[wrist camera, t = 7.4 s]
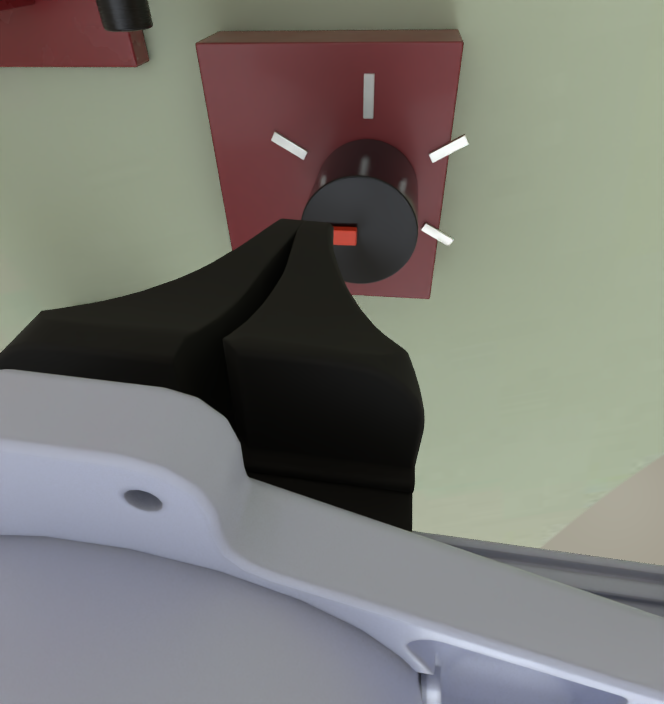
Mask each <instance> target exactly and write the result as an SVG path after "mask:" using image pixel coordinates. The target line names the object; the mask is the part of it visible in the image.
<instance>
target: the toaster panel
mask: <svg viewBox="0 0 664 704" xmlns="http://www.w3.org/2000/svg"><path fill="white" fill-rule="evenodd" d="M463 45H464V43H463V40H462V38H461V35H460V33H459V30H457V29H439V30H316V31H219V32H217V33H215V34H213V35H211V36H209V37H207V38H205V39H203V40H201V41H199V42H197V43H196V50H197V56H198V62H199V67H200V73H201V78H202V84H203V90H204V95H205V101H206V106H207V112H208V117H209V123H210V129H211V134H212V140H213V145H214V151H215V157H216V162H217V168H218V173H219V179H220V185H221V190H222V196H223V201H224V207H225V212H226V218H227V224H228V229H229V235H230V240H231V246H232V251H233V250H235V249H236V248H238V247H240V246H241V245H243V244H244V243H245V242H247V241H248V240H250V239H251V238H253V237H254V236H256V235H257V234H259V233H260V232H262V231H263V230H264V229H266V228H267V227H269V226H270V225H272V224H273V223H275V222H276V221H278V220H280V219H281V218H282V219H294V220H301V217H302V213H303V210H304V208H305V205H306V203H307V200H308V198H309V195H310V193H311V190H312V188H313V186H314V183H315V181H316V178H317V176H318V173H319V171H320V169H321V166H322V165H323V163H324V161H325V160H326V159H327V157H328V156H329V155H330V154H331V153H332V152H333V151H334V150H335V149H337V148H338V147H340V146H342V145H344V144H346V143H348V142H351V141H354V140H359V139H375V140H379V141H383V142H386V143H388V144H390V145H392V146H394V147H395V148H397V149H398V150H400V151H401V152H402V153H403V154H404V155H405V156H406V157H407V159H408V160H409V161H410V163H411V165H412V166H413V168H414V171H415V173H416V177H417V182H418V239H417V244H416V247H415V250H414V252H413V254H412V256H411V257H410V259H409V260H408V262H407V263H406V264H405V265H404V266H403V267H402V268H401V269H400V270H399V271H398V272H396V273H395V274H393V275H392V276H390V277H388V278H386V279H384V280H381V281H378V282H374V283H367V284H355V283H348V282H345V284H346V286H347V288H348V290H349V292H350V293H351V295H365V296H383V297H401V298H420V299H429V298H430V293H431V285H432V278H433V270H434V263H435V255H436V248H437V240H438V241H440V242H442V243H443V244H445V245H447V246H449V245H450V244H451V243H452V242H453V241H454V238H452V237H450V236H449V235H447V234H445V233H444V232H442V231H440V230H439V225H440V218H441V210H442V203H443V195H444V188H445V180H446V173H447V165H448V158H449V154H451V153H453V152H455V151H457V150H459V149H461V148H463V147H464V146H466V145H468V144H469V142H468V140H467V137H466V135H465V134H464V135H462V136H460V137H458V138H456V139H454V140H452V141H451V135H452V127H453V120H454V112H455V105H456V97H457V90H458V82H459V75H460V67H461V60H462V52H463Z"/></svg>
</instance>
